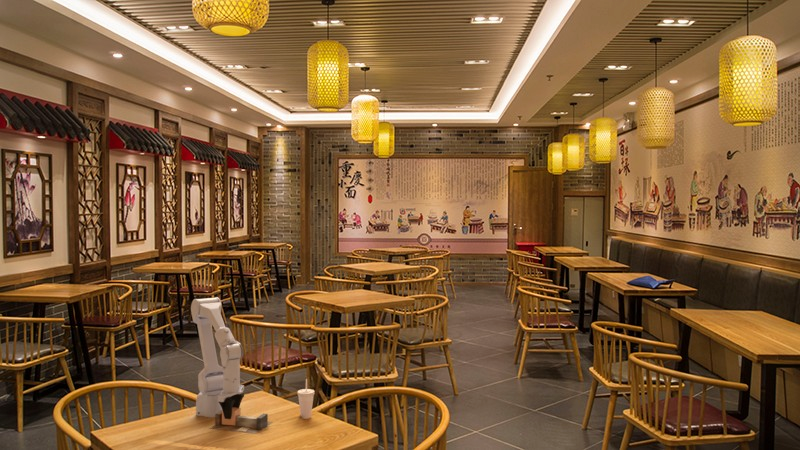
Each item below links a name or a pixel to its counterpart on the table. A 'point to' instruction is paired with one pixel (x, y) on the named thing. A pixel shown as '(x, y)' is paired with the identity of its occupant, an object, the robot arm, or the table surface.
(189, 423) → the table surface
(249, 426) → the rail board
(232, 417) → the sleeve
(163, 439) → the table surface
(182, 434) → the table surface
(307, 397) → the smoothie
